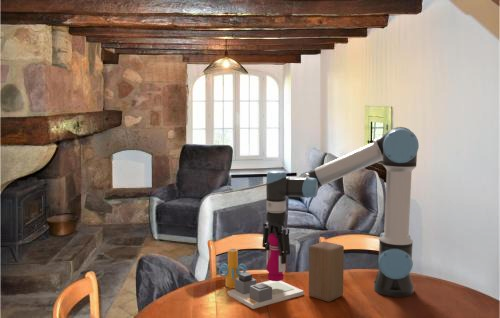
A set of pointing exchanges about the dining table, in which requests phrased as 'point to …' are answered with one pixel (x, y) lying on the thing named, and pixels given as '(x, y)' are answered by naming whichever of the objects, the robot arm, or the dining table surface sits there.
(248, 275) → the block
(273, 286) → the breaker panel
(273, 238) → the pepper mill
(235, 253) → the yellow post with loops
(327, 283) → the wooden block
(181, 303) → the dining table surface
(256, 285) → the block
